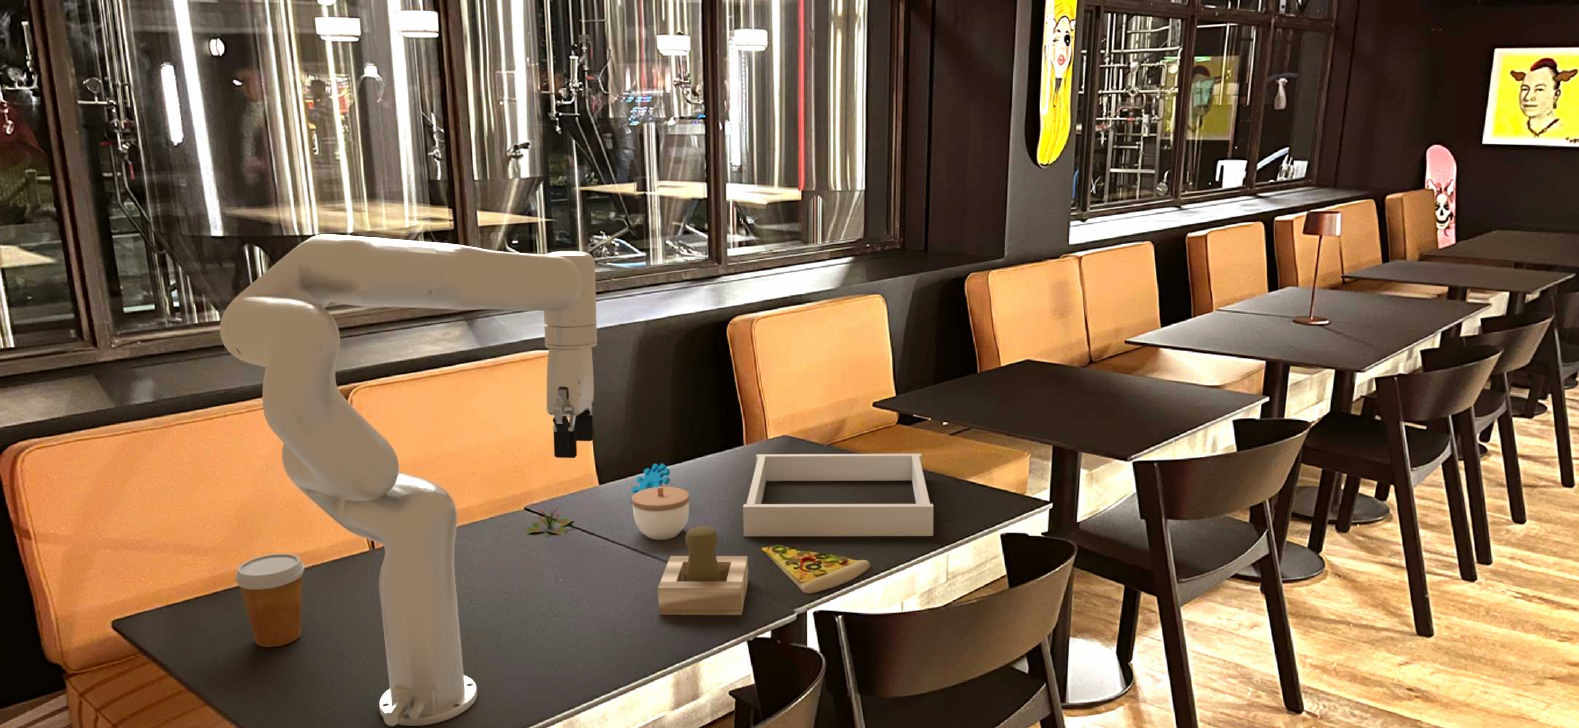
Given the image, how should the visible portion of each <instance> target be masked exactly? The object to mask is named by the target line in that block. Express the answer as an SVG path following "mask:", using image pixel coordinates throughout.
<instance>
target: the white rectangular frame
mask: <svg viewBox="0 0 1579 728" xmlns="http://www.w3.org/2000/svg"><path fill="white" fill-rule="evenodd" d="M755 455H756V456H755V468H754V473H753V477H752V481H751V484H750V488H749V492H748V495H747V501H746V503H744V504H743V506H742V517H743V519H742V520H743V537H933V536H934V504H933V503H931V501H930V497H929V493H928V489H927V484H926V480H925V476H924V471H923V467H922V454H921V453H815V454H814V453H798V454H797V453H793V454H792V453H787V454H785V453H783V454H782V453H781V454H777V453H775V454H769V453H767V454H766V453H765V454H761V453H760V454H759V453H758V454H755ZM785 481H787V482H789V481H791V482H794V481H795V482H800V481H801V482H808V481H810V482H816V481H817V482H818V481H819V482H820V481H821V482H822V481H823V482H826V481H827V482H829V481H834V482H835V481H837V482H838V481H843V482H844V481H845V482H846V481H847V482H849V481H854V482H855V481H862V482H863V481H864V482H865V481H911V483H912V487H913V494H914V499H915V503H774V504H773V503H762V502H763V498H764V492H765V487H766V483H767V482H785Z"/></svg>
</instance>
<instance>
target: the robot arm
mask: <svg viewBox="0 0 1579 728" xmlns="http://www.w3.org/2000/svg"><path fill="white" fill-rule="evenodd" d="M596 295H597V293H596V264H595V259H594V257H593V255H592V254H590V253H588V252H585V251H578V250H563V251H562V250H560V251H552V252H548V253H546V254H539V253H527V252H526V253H523V252H509V251H508V252H507V251H498V250H492V249H485V248H484V249H483V248H479V247H474V246H467V245H463V244H453V243H446V242H435V241H433V242H432V241H420V240H419V241H418V240H410V239H409V240H407V239H406V240H405V239H397V238H396V239H394V238H385V237H384V238H382V237H373V236H372V237H371V236H370V237H369V236H355V235H345V234H344V235H342V234H329V233H328V234H327V233H326V234H325V233H324V234H323V233H322V234H317V235H315V236H312V237H310V238H308V239H306V240H304V241H303V242H301V243H299V244H298V245H297V246H296V247H294V248H293V249H292V250H291V251H289V252H288V253H287V254H285V255H284V256H283V257H282V258H280V259H279V260H278V261H277V262H276V263H275V264H273V265H272V266H271V267H270V268H269V269H267V270H266V271H265V272H264V273H262V275H261V276H259V277H257V279H256V280H254V281H253V282H252V283H251V284H250V285H249V286H247V287H246V288H245V289H244V290H242V291H241V292H240V293H239V294H238V295H237V296H236V297H234V298H233V299H232V301H231V302H230V303H229V304H228V306H227V307H226V308H225V310H224V312H223V314H222V317H221V320H220V324H219V335H220V338H221V341H222V344H223V346H224V347H225V349H226V350H227V351H228V352H229V353H230V354H231V355H232V356H233V357H234V358H236V359H238V360H240V361H242V362H244V363H247V364H250V365H255V366H260V367H263V368H265V371H264V377H263V380H262V381H263V383H262V410H263V414H264V418H265V420H266V422H267V423H266V424H267V426H268V427H269V428H270V429H271V431H272V432H273V433H274V434H275V435H276V436H277V437H278V438H279V440H280V441H281V442H282V443H283V444H282V448H281V460H282V465H283V469H284V470H285V471H284V472H285V473H286V475H287V477H288V478H289V479H290V481H291V482H292V483H293V485H295V487H297V488H298V490H300V491H301V492H302V493H303V494H304V495H305V496H307V497H308V499H310V500H311V501H312V502H313V503H315V505H316V506H318V507H319V508H320V509H321V510H322V511H323V512H324V513H326V514H327V515H328V516H329V517H331V519H333V521H335V522H336V523H338V524H339V525H340V526H341V527H343V528H344V529H345V530H347V531H349V532H350V533H352V534H354V535H356V536H358V537H361V538H363V539H366V540H369V541H372V542H375V543H377V544H379V545H382V546H383V547H384V552H385V553H384V557H383V562H382V564H381V568H380V571H379V572H380V573H379V580H378V588H379V589H378V590H379V592H378V593H379V599H380V606H381V607H380V608H381V609H380V610H381V617H382V626H383V637H384V645H385V647H384V648H385V654H386V664H387V674H388V684H389V689H388V690H386V691H385V692H384V693H383V694H382V696H381V697H380V699H379V701H378V708H379V713H380V715H381V717H382V718H383V722H384V723H385V724H386V725H387V726H390V727H394V726H396V725H400V726H405V727H406V726H407V727H412V726H413V727H418V726H420V727H421V726H428V725H433V724H438V723H441V722H444V721H448V720H450V719H453V718H455V717H457V716H459V715H461V714H463V712H465V711H467V710H468V709H469V708H471V706H472V705H474V703H475V701H476V699H477V697H478V686H477V684H476V682H475V681H474V680H473V679H472V678H470V677H468V676H467V675H465V674H464V666H463V664H464V663H463V655H462V653H463V651H462V641H461V629H460V628H461V627H460V619H459V607H458V596H457V595H458V594H457V586H456V584H457V583H456V573H455V543H456V542H455V541H456V536H457V524H458V513H457V512H458V511H457V505H456V504H455V501H454V499H453V498H452V496H451V494H450V493H449V492H448V491H447V490H446V489H444V488H443V487H442V486H440V485H439V484H437V483H436V482H433V481H431V480H429V479H426V478H422V477H419V476H415V475H411V474H408V473H403V472H400V464H399V463H400V462H399V458H398V456H397V453H396V451H395V450H394V447H393V446H392V445H391V444H390V442H389V441H388V440H387V439H386V438H385V436H383V435H382V434H381V433H380V432H379V431H378V430H377V429H376V428H375V427H373V426H372V425H371V424H370V423H369V421H368V420H366V419H365V417H364V416H363V415H361V414H360V413H359V412H358V410H356V409H355V408H354V407H353V406H352V404H351V403H350V402H349V401H348V400H347V399H346V398H345V396H344V395H343V394H342V393H341V391H340V390H339V387H338V385H337V382H336V367H337V363H338V358H339V354H340V345H341V336H340V330H339V326H338V324H337V322H336V320H335V318H334V317H333V315H332V314H331V313H330V312H329V311H328V310H326V307H327V306H328V305H329V304H331V303H335V304H341V305H347V306H355V307H369V308H411V309H412V308H419V309H440V310H441V309H442V310H443V309H444V310H460V311H462V310H464V311H465V310H466V311H467V310H469V311H470V310H505V311H506V310H507V311H508V310H510V311H512V310H513V311H532V312H534V311H535V312H536V311H537V312H538V311H539V312H543V319H544V320H543V323H544V326H543V327H544V346H545V348H547V349H548V354H547V363H546V364H547V365H546V366H547V367H546V412H547V414H548V415H549V416H553V418H552V422H553V426H552V431H553V452H554V454H553V455H554V458H558V459H559V458H562V459H574V458H576V457H577V456H578V451H577V450H578V448H577V442H592V441H593V440H594V423H593V422H594V420H593V419H594V417H593V416H594V415H593V405H592V404H593V402H594V394H595V393H594V392H595V388H594V387H595V385H594V384H595V383H594V363H593V362H594V361H593V353H592V352H593V349H592V348H594V347H597V346H598V336H597V335H598V333H597V329H598V328H597V325H598V324H597V297H596Z"/></svg>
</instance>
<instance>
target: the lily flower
mask: <svg viewBox="0 0 1579 728" xmlns="http://www.w3.org/2000/svg"><path fill="white" fill-rule="evenodd" d="M552 507H553V505H551V507H550V509H552ZM542 508H543V509H544V511H545V512H544V511H543V510H541V509H540V508H539V509H538V508H537V509H536V510H537V511H539V512H541V513H542V514H543V515H544V517H545V518H544V517H543V516H541V515H538V519H539V520H540V521H541V522H539V521H535V520H534V521H533V524H534V525H535V526H531V527H528V528H526V529H525V531H524V534H527V533H528V534H530V533H540V532H541V533H543V532H544V533H545V532H549V533H554V534H556V535H559V536H561V535H562V534H563V535H566V531H567V529H566V527H565V526H567V525H569V524H570V523H571V522H572V519H570V518H566V517H565V518H560V519H558V518H559V517H561V514H559V513H556V514H555V512H556V511H557V510H558V509H559V508H560V506H557V507H556V508H555V509H554V510H550V511H549V512H550V514H548V512H547V510H546V509H545V506H542ZM554 514H555V516H554ZM543 524H545V526H546V527H547V528H549V529H550V528H552V527H553V526H554V524H561V525H560V527H559V528H558V529H557V530H546V531H545V530H539V527H540V526H541V525H543ZM530 525H531V524H530V523H529V524H528V526H530ZM572 526H573V527H577V525H576V524H572ZM569 530H571V529H568V531H569ZM535 536H536V538H539V535H538V534H535ZM549 536H550V534H548V535H546V536H545V538H547V537H549Z"/></svg>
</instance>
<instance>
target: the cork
mask: <svg viewBox="0 0 1579 728" xmlns="http://www.w3.org/2000/svg"><path fill="white" fill-rule="evenodd" d="M718 537H719V536H718V533H717V532H716V529H714V528H712V527H710V526H705V525H703V526H701V525H700V526H696V527H693V528H690V529H688V530H687V532H686V534H685V545H686V548H688V556H689V558H688V568H687V579H686V582H721V581H720V576H719V570H718V564H717V558H716V556H717V555H716V554H717V553H716V547H717V546H718V541H719V538H718Z"/></svg>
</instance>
